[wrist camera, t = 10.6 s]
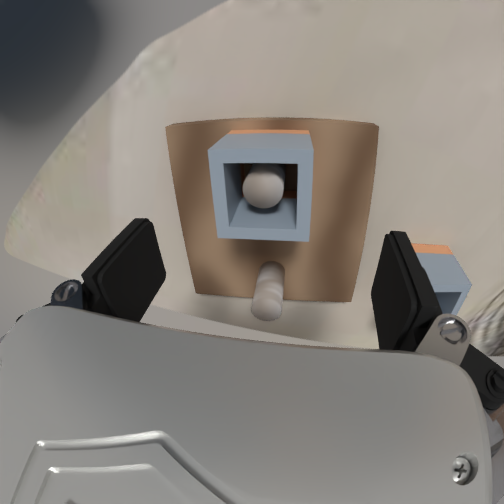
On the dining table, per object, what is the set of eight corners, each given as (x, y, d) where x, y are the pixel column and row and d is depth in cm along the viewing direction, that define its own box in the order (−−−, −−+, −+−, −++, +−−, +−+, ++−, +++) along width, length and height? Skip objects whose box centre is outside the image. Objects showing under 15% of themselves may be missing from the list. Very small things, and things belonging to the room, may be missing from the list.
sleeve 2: (447, 245, 23) (471, 284, 18) (431, 288, 26) (448, 328, 21) (400, 242, 24) (420, 284, 19) (387, 287, 27) (400, 331, 22)
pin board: (373, 123, 19) (401, 141, 13) (349, 292, 28) (356, 341, 23) (172, 123, 21) (132, 142, 16) (199, 283, 30) (181, 328, 25)
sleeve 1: (308, 130, 18) (313, 149, 14) (306, 200, 22) (309, 241, 17) (231, 130, 19) (207, 149, 14) (236, 198, 22) (217, 237, 18)
